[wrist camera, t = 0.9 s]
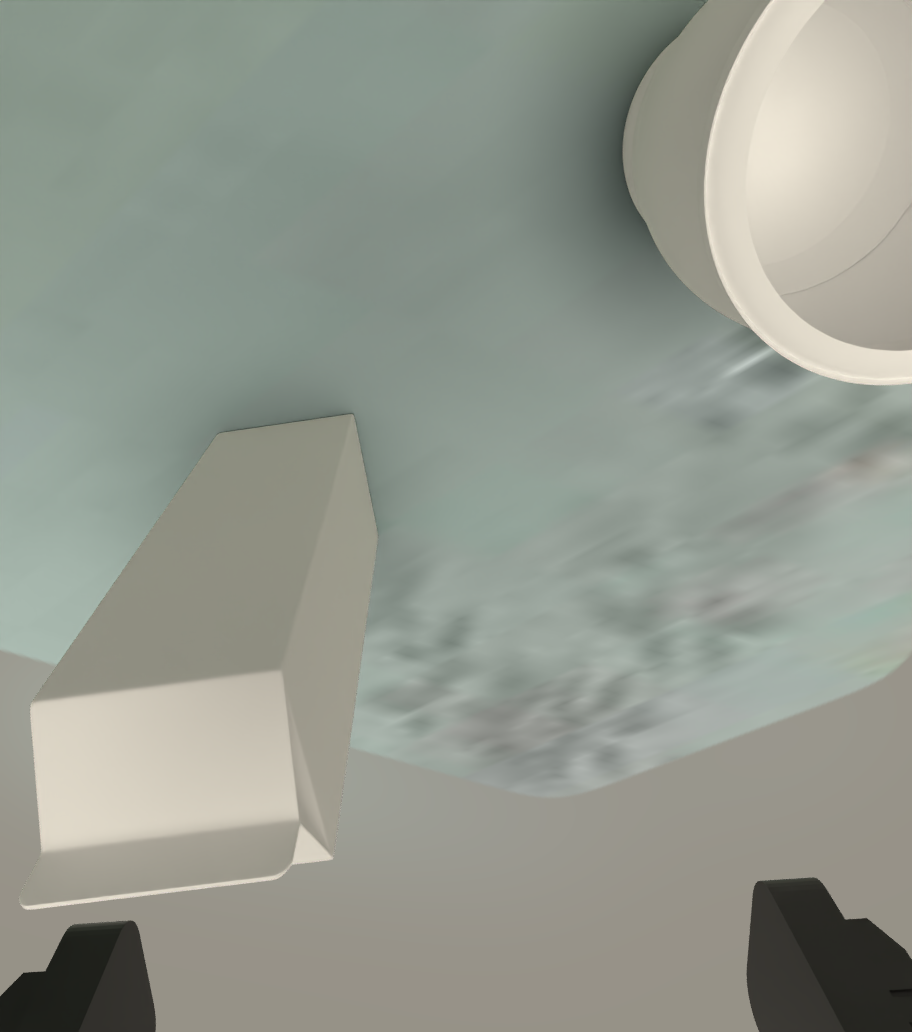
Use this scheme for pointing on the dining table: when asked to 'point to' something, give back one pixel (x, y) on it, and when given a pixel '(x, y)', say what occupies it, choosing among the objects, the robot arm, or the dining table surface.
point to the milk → (213, 680)
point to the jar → (787, 175)
